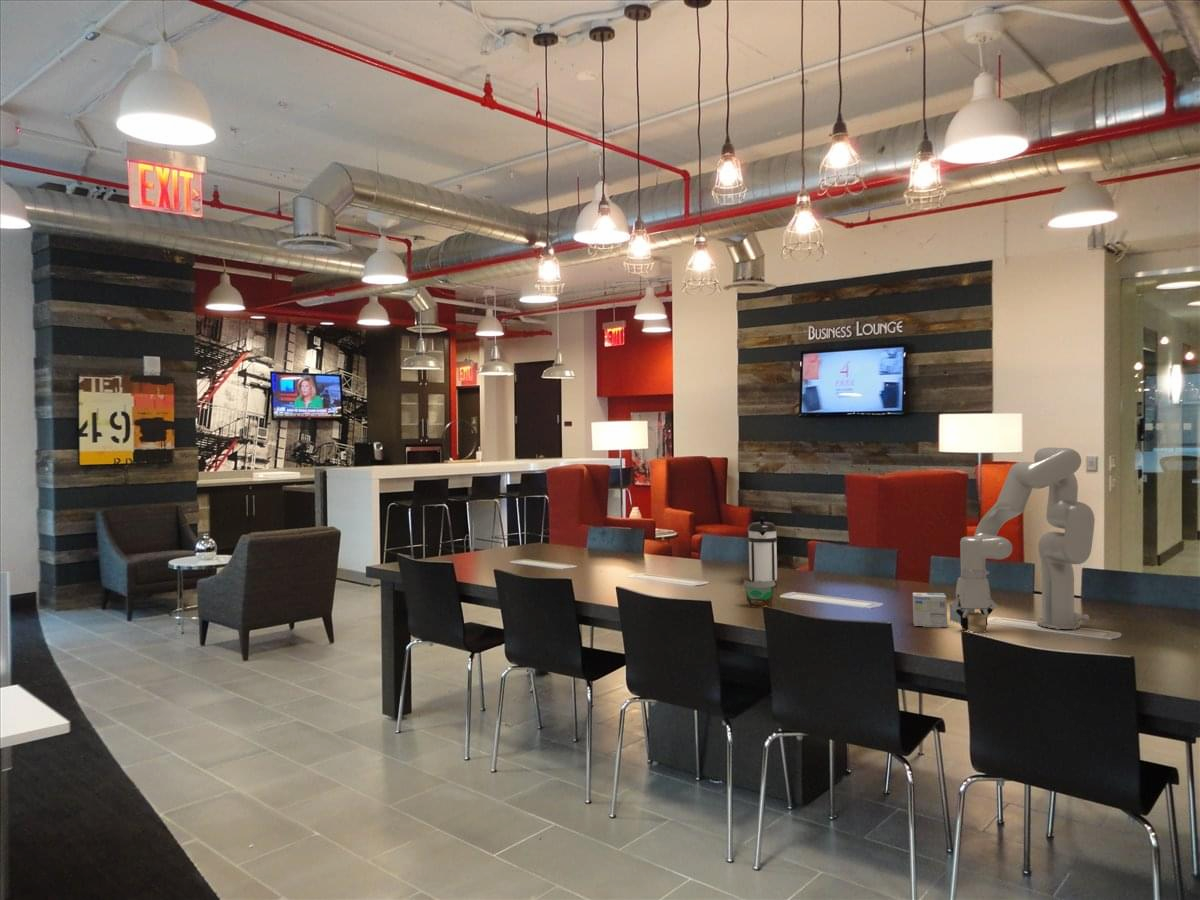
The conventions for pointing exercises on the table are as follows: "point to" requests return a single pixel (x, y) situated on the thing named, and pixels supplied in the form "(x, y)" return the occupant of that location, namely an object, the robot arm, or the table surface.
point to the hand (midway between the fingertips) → (974, 628)
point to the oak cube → (976, 622)
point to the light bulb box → (929, 609)
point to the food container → (759, 593)
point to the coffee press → (762, 551)
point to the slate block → (955, 615)
